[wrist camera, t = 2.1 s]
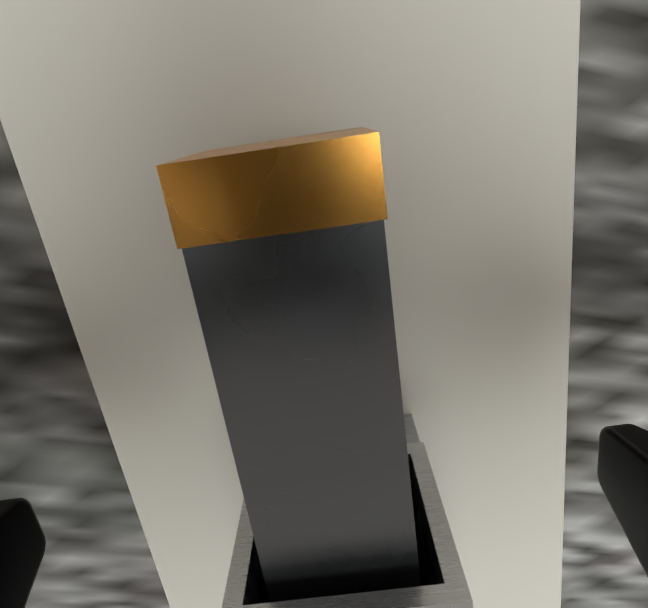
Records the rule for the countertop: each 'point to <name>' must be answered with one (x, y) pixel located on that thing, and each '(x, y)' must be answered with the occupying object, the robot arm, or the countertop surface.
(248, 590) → the outer sleeve
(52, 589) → the countertop surface
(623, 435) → the robot arm
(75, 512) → the countertop surface
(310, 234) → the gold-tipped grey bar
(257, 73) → the base board
